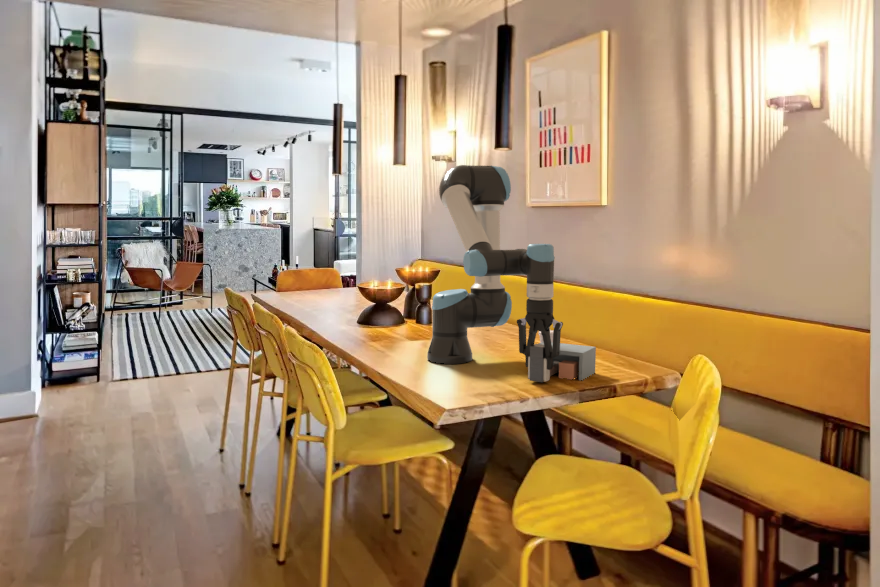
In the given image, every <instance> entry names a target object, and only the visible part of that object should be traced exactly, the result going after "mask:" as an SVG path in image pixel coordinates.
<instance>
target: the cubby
mask: <svg viewBox="0 0 880 587" xmlns="http://www.w3.org/2000/svg"><path fill="white" fill-rule="evenodd" d="M538 344H542V345H544V342H541V343H540V342H539V343H538ZM551 344H552V349H553V342H551ZM596 353H597V347H596V346H591V345H581V344H580V345H579V344H572V343H571V344H570V343H561V342H560V354H559V355H558V356H556V357H553V362H554V361H556V360H557V361H564V360H567V361H576V362H579V369H578V371H579V372H578V381H581V380H582V381H584V380H586V379H588V378H589V376H590V375H591V376H593V375H595V374H596V362H597V361H596V358H597V357H596V356H597V354H596ZM594 373H595V374H594ZM592 374H593V375H592ZM591 376H590V377H591ZM587 377H588V378H587ZM585 378H586V379H585ZM583 379H584V380H583Z"/></svg>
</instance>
